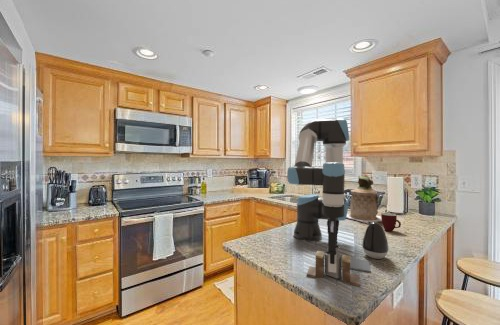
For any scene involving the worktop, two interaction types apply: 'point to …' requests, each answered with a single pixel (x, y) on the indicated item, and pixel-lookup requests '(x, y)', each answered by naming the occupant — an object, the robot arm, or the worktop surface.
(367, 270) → the mat
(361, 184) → the cookie jar
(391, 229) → the mug
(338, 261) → the power adapter
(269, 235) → the worktop surface
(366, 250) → the pump dispenser
